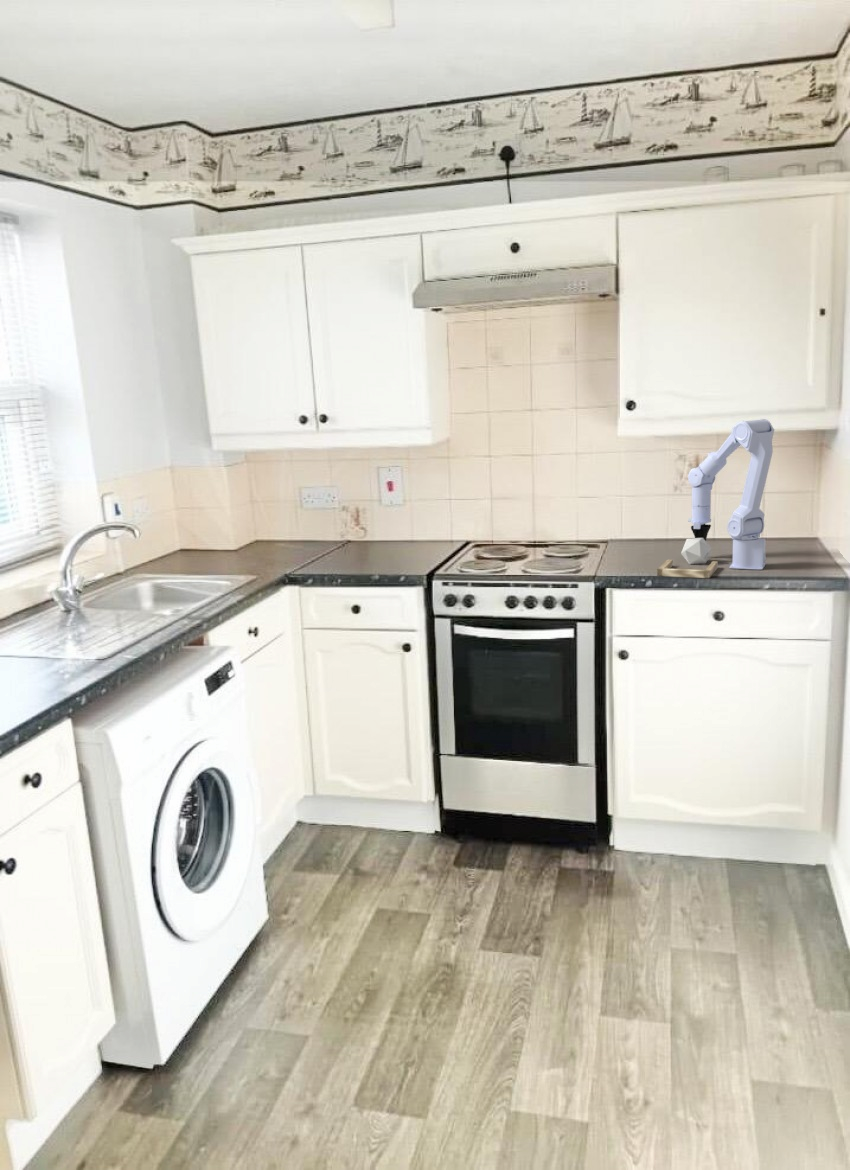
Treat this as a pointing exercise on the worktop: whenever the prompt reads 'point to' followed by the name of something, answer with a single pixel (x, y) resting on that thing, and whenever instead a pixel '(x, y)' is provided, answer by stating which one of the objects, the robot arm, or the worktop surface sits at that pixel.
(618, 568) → the worktop surface
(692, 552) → the die
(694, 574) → the corral
